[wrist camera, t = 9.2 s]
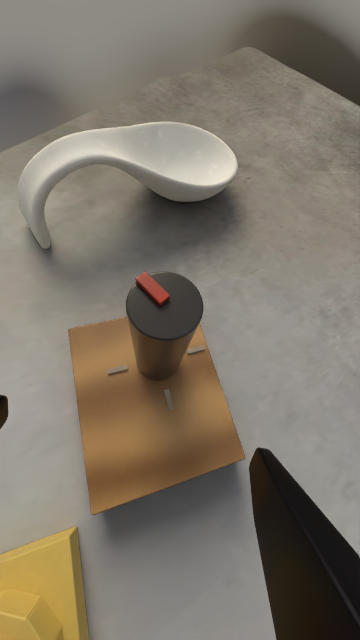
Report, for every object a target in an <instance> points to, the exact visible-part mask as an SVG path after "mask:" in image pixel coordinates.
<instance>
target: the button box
mask: <svg viewBox="0 0 360 640" xmlns="http://www.w3.org/2000/svg"><path fill="white" fill-rule="evenodd" d="M0 640H89V633H88V624H87V614H86V605H85V595H84V586H83V577H82V567H81V558H80V549H79V539H78V530H77V526H75V527H72V528H70V529H67V530H64V531H62V532H59V533H56V534H54V535H51V536H48V537H46V538H43V539H40V540H38V541H35V542H32V543H30V544H27V545H24V546H22V547H19V548H16V549H14V550H11V551H8V552H6V553H3V554H0Z"/></svg>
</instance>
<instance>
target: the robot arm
mask: <svg viewBox="0 0 360 640" xmlns="http://www.w3.org/2000/svg"><path fill="white" fill-rule="evenodd" d="M7 417H8V399H7V397H6V396H4V395H0V429H1V428H2V426H3V425H4V423H5V422H6V420H7ZM249 473H250V484H251V494H252V505H253V515H254V522H255V528H256V533H257V538H258V544H259V549H260V554H261V560H262V565H263V570H264V575H265V581H266V586H267V591H268V597H269V602H270V607H271V613H272V618H273V623H274V629H275V634H276V639H277V640H360V558H359V555H358V554H357V553H356V552H355V550H354V549H353V548H352V547H351V546H350V544H349V543H348V542H347V541H346V540H345V539H344V537H343V536H342V535H341V534H340V533H339V531H338V530H337V529H336V528H335V527H334V526H333V524H332V523H331V522H330V521H329V520H328V518H327V517H326V516H325V515H324V514H323V513H322V511H321V510H320V509H319V508H318V507H317V505H316V504H315V503H314V502H313V501H312V500H311V498H310V497H309V496H308V495H307V494H306V492H305V491H304V490H303V489H302V488H301V487H300V485H299V484H298V483H297V482H296V481H295V479H294V478H293V477H292V476H291V475H290V474H289V472H288V471H287V470H286V469H285V468H284V466H283V465H282V464H281V463H280V462H279V461H278V459H277V458H276V457H275V456H274V455H273V454H272V452H271V451H270V450H268V449H264V448H257V449H256V451H255V453H254V455H253V457H252V460H251V462H250V466H249Z"/></svg>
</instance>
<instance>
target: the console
mask: <svg viewBox="0 0 360 640" xmlns="http://www.w3.org/2000/svg"><path fill="white" fill-rule="evenodd" d="M68 332H69V340H70V348H71V356H72V364H73V372H74V380H75V388H76V396H77V404H78V411H79V419H80V427H81V435H82V443H83V451H84V459H85V467H86V475H87V483H88V491H89V498H90V506H91V514H92V515H95V514H98V513H101V512H103V511H106V510H109V509H111V508H114V507H117V506H120V505H122V504H125V503H128V502H130V501H133V500H136V499H138V498H141V497H144V496H146V495H149V494H152V493H155V492H157V491H160V490H163V489H165V488H168V487H171V486H173V485H176V484H179V483H181V482H184V481H187V480H190V479H192V478H195V477H198V476H200V475H203V474H206V473H208V472H211V471H214V470H216V469H219V468H222V467H225V466H227V465H230V464H233V463H235V462H238V461H241V460H243V459H245V455H244V452H243V449H242V446H241V443H240V440H239V437H238V434H237V431H236V428H235V425H234V423H233V420H232V417H231V414H230V411H229V408H228V405H227V402H226V399H225V396H224V393H223V390H222V387H221V385H220V382H219V379H218V376H217V373H216V370H215V367H214V364H213V361H212V358H211V355H210V352H209V350H208V347H207V344H206V341H205V338H204V335H203V332H202V329H201V326H200V323H199V325H198V327H197V329H196V331H195V333H194V335H193V337H192V340H191V342H190V344H189V346H188V348H187V350H186V352H185V354H184V356H183V358H182V360H181V363H180V365H179V367H178V369H177V371H176V372H175V373H174V374H173V375H172V376H171V377H169V378H168V379H165V380H161V381H154V380H151V379H148V378H146V377H145V376H144V375H143V374H142V373H141V372H140V371H139V369H138V366H137V362H136V357H135V352H134V347H133V342H132V337H131V332H130V327H129V322H128V317H123V318H119V319H114V320H109V321H104V322H100V323H95V324H90V325H85V326H81V327H76V328H71V329H68Z"/></svg>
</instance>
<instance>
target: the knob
mask: <svg viewBox="0 0 360 640" xmlns="http://www.w3.org/2000/svg"><path fill="white" fill-rule="evenodd" d="M135 280H136V283H135V284H134V285H133V287H132V288H131V289H130V291H129V293H128V296H127V300H126V311H127V316H128V322H129V327H130V332H131V337H132V342H133V347H134V352H135V357H136V362H137V366H138V369H139V371H140V372H141V373H142V374H143V375H144V376H145V377H146V378H148V379H151V380H154V381H161V380H165V379H168V378H169V377H171V376H172V375H173V374H174V373H175V372H176V371H177V369H178V367H179V365H180V363H181V360H182V358H183V356H184V354H185V352H186V350H187V348H188V346H189V344H190V342H191V340H192V337H193V335H194V333H195V331H196V329H197V327H198V325H199V323H200V321H201V318H202V315H203V301H202V297H201V295H200V293H199V291H198V289H197V288H196V287H195V285H194V284H193V283H192V282H190V281H189V280H188V279H186V278H185V277H183V276H181V275H178V274H175V273H171V272H156V273H152V274H148V273H147V272H144V273H142V274H141V275H139V276H138V277H137V278H135Z"/></svg>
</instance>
